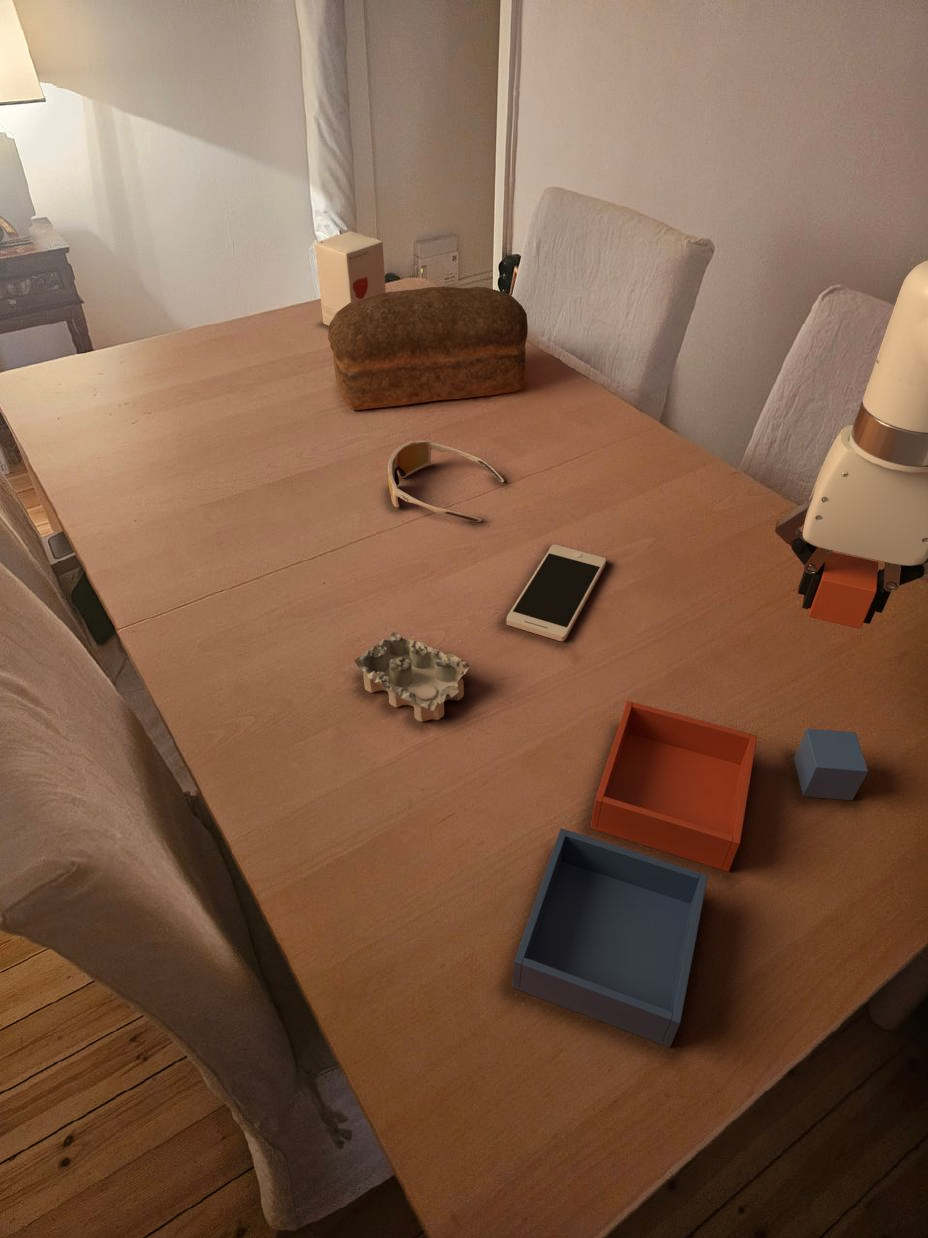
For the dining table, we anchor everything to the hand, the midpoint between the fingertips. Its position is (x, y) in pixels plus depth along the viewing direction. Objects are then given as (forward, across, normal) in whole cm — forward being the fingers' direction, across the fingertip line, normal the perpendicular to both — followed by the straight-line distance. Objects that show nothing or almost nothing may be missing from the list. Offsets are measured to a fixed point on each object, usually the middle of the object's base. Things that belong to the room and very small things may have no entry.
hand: (836, 605), depth 76 cm
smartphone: (+13, +28, -7) cm, 32 cm away
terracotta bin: (+13, +10, +17) cm, 23 cm away
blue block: (+13, -3, +9) cm, 17 cm away
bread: (+13, +64, -50) cm, 83 cm away
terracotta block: (0, 0, 0) cm, 0 cm away
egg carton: (+13, +38, +13) cm, 42 cm away
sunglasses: (+13, +50, -22) cm, 56 cm away
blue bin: (+13, +11, +33) cm, 37 cm away
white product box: (+13, +88, -68) cm, 111 cm away
